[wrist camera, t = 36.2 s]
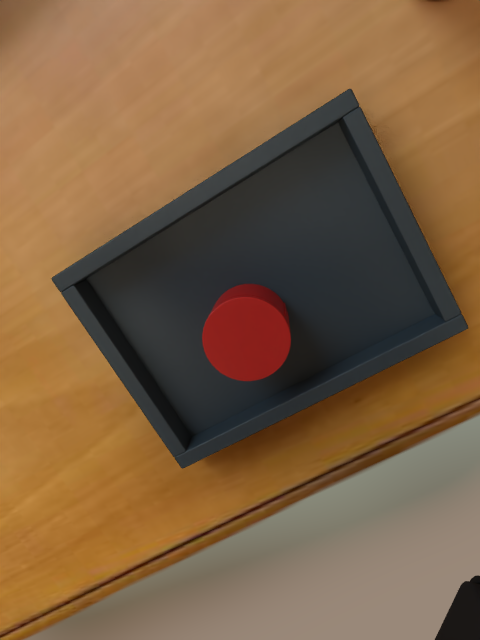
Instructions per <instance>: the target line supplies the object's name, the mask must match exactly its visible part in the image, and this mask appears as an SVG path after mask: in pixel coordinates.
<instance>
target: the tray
mask: <svg viewBox="0 0 480 640" xmlns="http://www.w3.org/2000/svg"><path fill="white" fill-rule="evenodd" d="M52 281H53V282H54V284H55V285H56V287H57V288H58V290H59V291H60V292H62V293H61V294H62V295H63V297H64V298H65V300H66V301H67V303H68V304H69V306H70V307H71V309H72V310H73V311H74V313H75V314H76V316H77V317H78V319H79V320H80V322H81V323H82V325H83V326H84V327H85V329H86V330H87V332H88V333H89V335H90V336H91V338H92V339H93V340H94V342H95V343H96V345H97V346H98V348H99V349H100V351H101V352H102V354H103V355H104V356H105V358H106V359H107V361H108V362H109V364H110V365H111V367H112V368H113V370H114V371H115V372H116V374H117V375H118V377H119V378H120V380H121V381H122V383H123V384H124V386H125V387H126V388H127V390H128V391H129V393H130V394H131V396H132V397H133V399H134V400H135V401H136V403H137V404H138V406H139V407H140V409H141V410H142V412H143V413H144V415H145V416H146V417H147V419H148V420H149V422H150V423H151V425H152V426H153V428H154V429H155V431H156V432H157V433H158V435H159V436H160V438H161V439H162V441H163V442H164V444H165V445H166V447H167V448H168V449H169V451H170V452H171V454H172V455H173V457H175V459H176V461H177V462H178V464H179V465H180V467H181V468H185V467H187V466H189V465H191V464H193V463H195V462H197V461H199V460H201V459H203V458H205V457H207V456H209V455H211V454H213V453H216V452H218V451H220V450H222V449H224V448H226V447H228V446H230V445H232V444H234V443H236V442H238V441H240V440H242V439H244V438H246V437H248V436H250V435H252V434H254V433H256V432H258V431H260V430H262V429H264V428H266V427H269V426H271V425H273V424H275V423H277V422H279V421H281V420H283V419H285V418H287V417H289V416H291V415H293V414H295V413H297V412H299V411H301V410H303V409H305V408H307V407H309V406H311V405H313V404H315V403H317V402H319V401H321V400H324V399H326V398H328V397H330V396H332V395H334V394H336V393H338V392H340V391H342V390H344V389H346V388H348V387H350V386H352V385H354V384H356V383H358V382H360V381H362V380H364V379H366V378H368V377H370V376H372V375H374V374H377V373H379V372H381V371H383V370H385V369H387V368H389V367H391V366H393V365H395V364H397V363H399V362H401V361H403V360H405V359H407V358H409V357H411V356H413V355H415V354H417V353H419V352H421V351H423V350H425V349H427V348H430V347H432V346H434V345H436V344H438V343H440V342H442V341H444V340H446V339H448V338H450V337H452V336H454V335H456V334H458V333H460V332H462V331H464V330H466V329H468V325H467V323H466V321H465V319H464V317H463V315H462V314H461V311H460V309H459V307H458V305H457V303H456V301H455V299H454V297H453V295H452V293H451V291H450V289H449V286H448V284H447V282H446V280H445V278H444V276H443V274H442V272H441V270H440V268H439V266H438V264H437V262H436V260H435V258H434V256H433V254H432V252H431V250H430V248H429V246H428V244H427V242H426V240H425V238H424V236H423V234H422V232H421V229H420V227H419V225H418V223H417V221H416V219H415V217H414V215H413V213H412V211H411V209H410V207H409V205H408V203H407V201H406V199H405V197H404V195H403V193H402V191H401V189H400V187H399V185H398V183H397V181H396V179H395V177H394V174H393V172H392V170H391V168H390V166H389V164H388V162H387V160H386V158H385V156H384V154H383V152H382V150H381V148H380V146H379V144H378V142H377V140H376V138H375V136H374V134H373V132H372V130H371V128H370V126H369V124H368V122H367V120H366V117H365V115H364V113H363V111H362V109H361V108H360V107H359V103H358V101H357V99H356V97H355V95H354V93H353V91H352V89H348V90H347V91H345V92H343V93H342V94H340V95H339V96H337V97H336V98H334V99H332V100H331V101H329V102H328V103H326V104H325V105H323V106H321V107H320V108H318V109H317V110H315V111H314V112H312V113H310V114H309V115H307V116H306V117H304V118H302V119H301V120H299V121H298V122H296V123H295V124H293V125H291V126H290V127H288V128H287V129H285V130H284V131H282V132H280V133H279V134H277V135H276V136H274V137H273V138H271V139H269V140H268V141H266V142H265V143H263V144H262V145H260V146H258V147H257V148H255V149H254V150H252V151H251V152H249V153H247V154H246V155H244V156H243V157H241V158H239V159H238V160H236V161H235V162H233V163H232V164H230V165H228V166H227V167H225V168H224V169H222V170H221V171H219V172H217V173H216V174H214V175H213V176H211V177H210V178H208V179H206V180H205V181H203V182H202V183H200V184H199V185H197V186H195V187H194V188H192V189H191V190H189V191H188V192H186V193H184V194H183V195H181V196H180V197H178V198H177V199H175V200H173V201H172V202H170V203H169V204H167V205H165V206H164V207H162V208H161V209H159V210H158V211H156V212H154V213H153V214H151V215H150V216H148V217H147V218H145V219H143V220H142V221H140V222H139V223H137V224H136V225H134V226H132V227H131V228H129V229H128V230H126V231H125V232H123V233H121V234H120V235H118V236H117V237H115V238H114V239H112V240H110V241H109V242H107V243H106V244H104V245H102V246H101V247H99V248H98V249H96V250H95V251H93V252H91V253H90V254H88V255H87V256H85V257H84V258H82V259H80V260H79V261H77V262H76V263H74V264H73V265H71V266H69V267H68V268H66V269H65V270H63V271H62V272H60V273H58V274H57V275H55V276H54V277H52ZM242 284H257V285H261V286H264V287H266V288H269V289H270V290H272V291H273V292H275V293H276V294H277V295H278V296H279V297H280V298H281V300H282V301H283V303H284V302H285V305H286V309H287V311H288V316H289V324H290V333H291V346H290V350H289V353H288V356H287V358H286V360H285V362H284V363H283V364H282V366H281V367H280V368H279V369H278V370H277V371H275V372H274V373H273V374H271V375H269V376H268V377H265V378H263V379H260V380H255V381H240V380H235V379H232V378H229V377H227V376H225V375H224V374H222V373H220V372H219V371H218V370H217V369H216V368H215V367H214V366H213V365H212V364H211V363H210V361H209V360H208V358H207V356H206V354H205V351H204V348H203V342H202V334H203V328H204V325H205V322H206V320H207V318H208V316H209V314H210V313H211V311H212V309H213V307H214V305H215V303H216V302H217V300H218V299H219V298H220V296H221V295H222V294H223V293H225V292H226V291H227V290H229V289H231V288H233V287H235V286H238V285H242Z"/></svg>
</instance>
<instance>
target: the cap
mask: <svg viewBox="0 0 480 640" xmlns="http://www.w3.org/2000/svg"><path fill="white" fill-rule="evenodd" d="M202 342H203V348H204V351H205V354H206V356H207V358H208V360H209V361H210V363H211V364H212V365H213V366H214V367H215V368H216V369H217V370H218V371H219V372H220V373H222V374H224V375H225V376H227V377H229V378H232V379H235V380H240V381H255V380H260V379H263V378H265V377H268V376H269V375H271V374H273V373H274V372H275V371H277V370H278V369H279V368H280V367H281V366H282V364H283V363H284V362H285V360H286V358H287V356H288V353H289V350H290V346H291V333H290V324H289V316H288V311H287V309H286V305H285V302H284V303H283V301H282V300H281V298H280V297H279V296H278V295H277V294H276V293H275V292H273V291H272V290H270V289H269V288H266V287H264V286H261V285H257V284H242V285H238V286H235V287H233V288H231V289H229V290H227V291H226V292H225V293H223V294H222V295H221V296H220V298H219V299H218V300H217V302H216V303H215V305H214V307H213V309H212V311H211V313H210V314H209V316H208V318H207V320H206V322H205V325H204V328H203V334H202Z"/></svg>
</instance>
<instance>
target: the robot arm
mask: <svg viewBox="0 0 480 640" xmlns="http://www.w3.org/2000/svg"><path fill="white" fill-rule="evenodd" d="M435 640H480V576H475V577H473V578H472V579H471V580H470V582H469V581H465V582H464V583H463V584H462V585H461V586H460V588H459V590H458V592H457V594H456V597H455V599H454V601H453V603H452V605H451V607H450V609H449V611H448V613H447V615H446V617H445V620H444V622H443V624H442V626H441V628H440V630H439V632H438V634H437V636H436V638H435Z"/></svg>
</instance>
